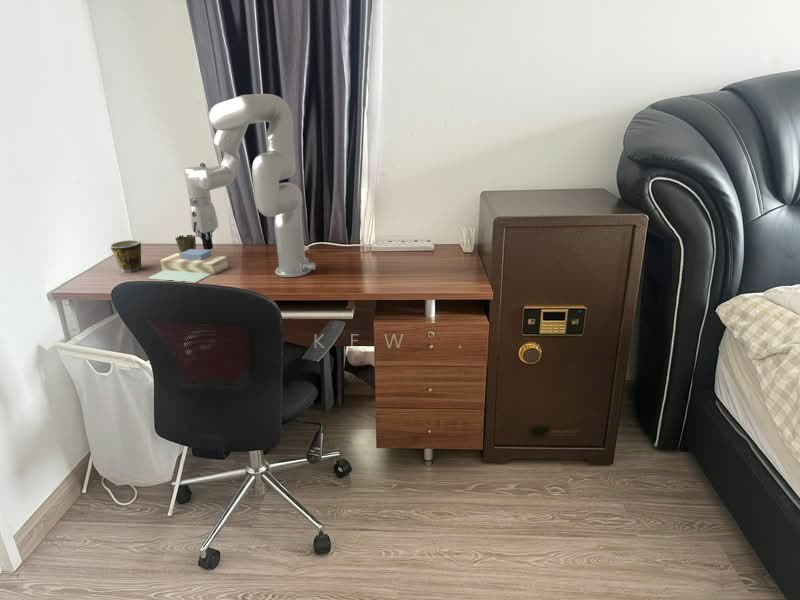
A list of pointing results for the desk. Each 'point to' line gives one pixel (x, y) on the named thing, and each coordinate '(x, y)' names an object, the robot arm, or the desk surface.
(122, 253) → the ceramic cup
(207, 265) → the block
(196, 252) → the blue rectangular block
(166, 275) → the mat
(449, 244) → the desk surface
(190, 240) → the cup
